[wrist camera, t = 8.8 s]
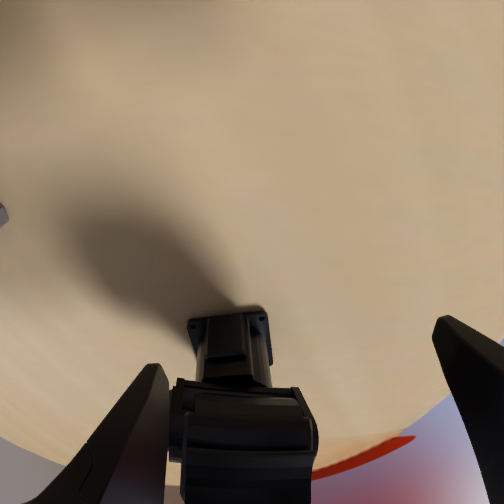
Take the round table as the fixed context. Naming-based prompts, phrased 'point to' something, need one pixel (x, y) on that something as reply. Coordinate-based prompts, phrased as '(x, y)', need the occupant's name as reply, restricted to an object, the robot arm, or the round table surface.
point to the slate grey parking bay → (3, 216)
